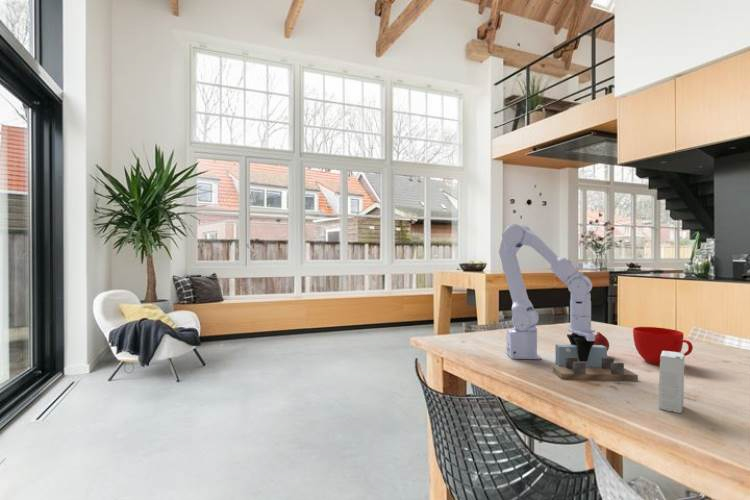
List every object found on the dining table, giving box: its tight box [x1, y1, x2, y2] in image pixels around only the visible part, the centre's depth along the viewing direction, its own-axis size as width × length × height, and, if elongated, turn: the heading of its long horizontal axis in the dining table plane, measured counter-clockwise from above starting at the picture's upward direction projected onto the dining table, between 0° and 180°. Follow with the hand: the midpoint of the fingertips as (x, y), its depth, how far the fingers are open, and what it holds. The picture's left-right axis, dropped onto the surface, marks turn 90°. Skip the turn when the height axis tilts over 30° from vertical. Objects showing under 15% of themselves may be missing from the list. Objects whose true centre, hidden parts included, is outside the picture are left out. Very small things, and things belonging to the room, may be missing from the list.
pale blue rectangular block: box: [555, 344, 608, 368], centre depth 122 cm, size 14×4×6 cm, turn 86°
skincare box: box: [658, 351, 685, 414], centre depth 89 cm, size 6×4×12 cm
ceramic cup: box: [632, 326, 694, 366], centre depth 123 cm, size 13×17×10 cm
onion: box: [593, 331, 610, 352], centre depth 134 cm, size 6×6×8 cm
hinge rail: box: [552, 357, 639, 382], centre depth 112 cm, size 20×6×4 cm, turn 85°
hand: (580, 359), depth 123 cm, fingers closed on pale blue rectangular block, 3 cm apart
